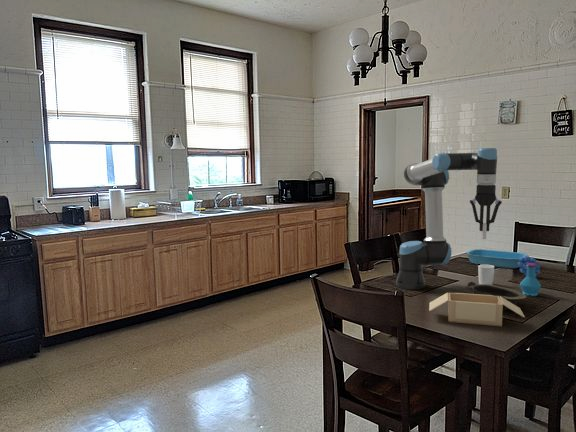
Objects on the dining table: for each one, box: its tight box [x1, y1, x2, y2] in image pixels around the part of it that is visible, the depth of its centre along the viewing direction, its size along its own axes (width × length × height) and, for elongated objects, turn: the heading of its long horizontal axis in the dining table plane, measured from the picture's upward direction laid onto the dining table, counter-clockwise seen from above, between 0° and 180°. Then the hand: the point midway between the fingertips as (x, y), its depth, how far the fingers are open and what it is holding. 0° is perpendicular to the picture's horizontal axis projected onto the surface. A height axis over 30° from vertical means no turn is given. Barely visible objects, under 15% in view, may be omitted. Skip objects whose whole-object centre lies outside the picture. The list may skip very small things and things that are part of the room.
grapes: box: [517, 255, 541, 278], centre depth 258 cm, size 12×7×12 cm, turn 57°
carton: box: [447, 292, 504, 327], centre depth 191 cm, size 20×13×9 cm, turn 72°
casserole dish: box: [465, 248, 529, 269], centre depth 292 cm, size 37×22×7 cm, turn 51°
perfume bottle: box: [519, 263, 542, 297], centre depth 226 cm, size 9×9×15 cm
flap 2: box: [500, 296, 526, 318], centre depth 187 cm, size 9×11×1 cm
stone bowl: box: [465, 281, 527, 311], centre depth 210 cm, size 25×25×9 cm
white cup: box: [477, 264, 495, 285], centre depth 244 cm, size 8×8×10 cm
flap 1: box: [428, 292, 449, 312], centre depth 195 cm, size 9×11×1 cm
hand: (483, 238), depth 200 cm, fingers closed
